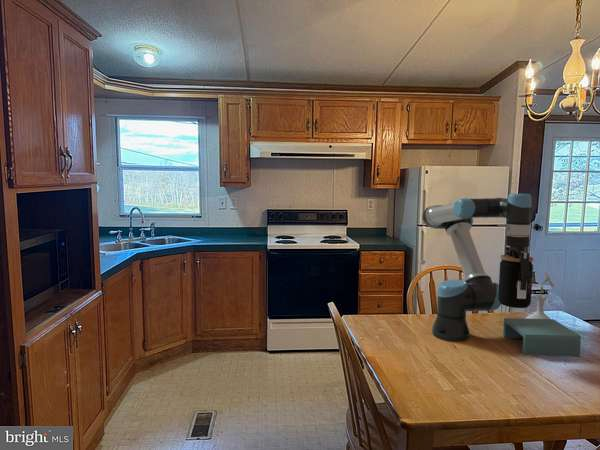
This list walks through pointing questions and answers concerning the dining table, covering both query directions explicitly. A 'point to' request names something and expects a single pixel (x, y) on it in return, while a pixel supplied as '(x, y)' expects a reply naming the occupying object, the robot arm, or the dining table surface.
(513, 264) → the coffee jar
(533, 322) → the green riser stand
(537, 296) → the flower in vase
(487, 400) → the dining table surface
